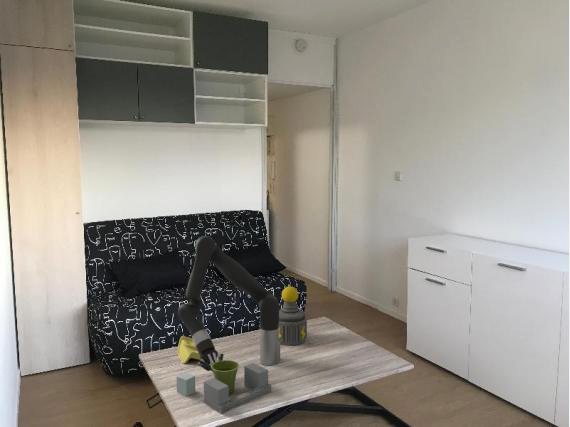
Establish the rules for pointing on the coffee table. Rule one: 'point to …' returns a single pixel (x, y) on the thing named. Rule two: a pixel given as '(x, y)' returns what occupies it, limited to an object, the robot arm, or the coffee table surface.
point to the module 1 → (185, 384)
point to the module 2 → (215, 393)
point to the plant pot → (226, 372)
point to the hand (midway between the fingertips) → (219, 377)
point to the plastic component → (187, 349)
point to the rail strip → (244, 398)
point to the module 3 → (255, 376)
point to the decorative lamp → (291, 319)
